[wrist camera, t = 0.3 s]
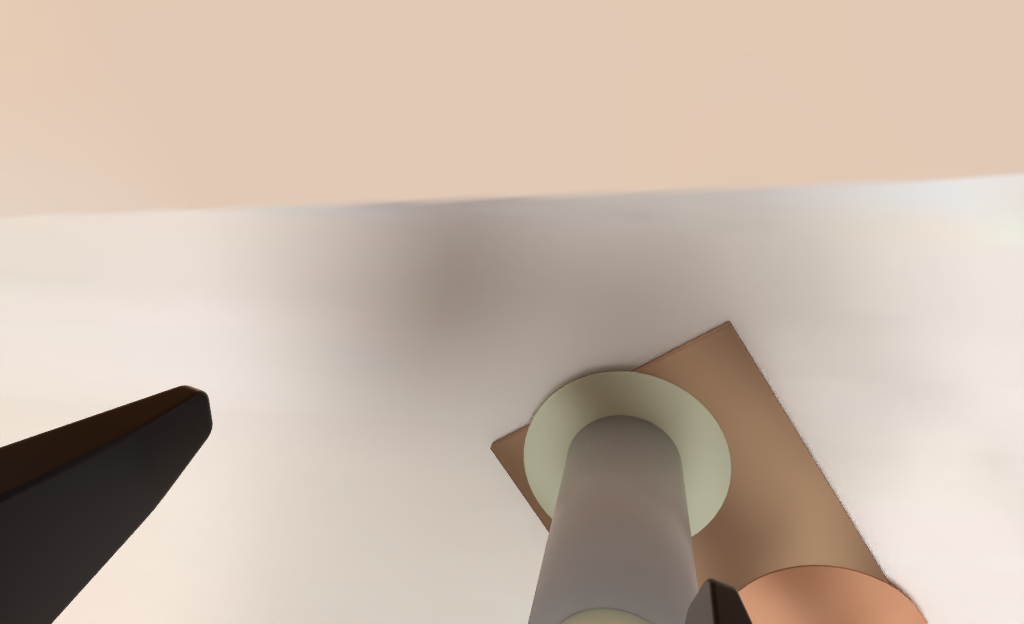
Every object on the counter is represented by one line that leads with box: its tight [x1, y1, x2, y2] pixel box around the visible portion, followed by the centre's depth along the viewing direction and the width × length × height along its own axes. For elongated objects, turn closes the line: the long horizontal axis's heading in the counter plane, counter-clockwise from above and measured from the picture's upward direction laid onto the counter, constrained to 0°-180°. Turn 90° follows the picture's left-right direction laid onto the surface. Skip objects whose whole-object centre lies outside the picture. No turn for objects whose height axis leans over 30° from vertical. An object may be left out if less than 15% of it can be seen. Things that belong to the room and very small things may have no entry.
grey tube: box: [528, 415, 698, 624], centre depth 19 cm, size 5×5×12 cm
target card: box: [490, 321, 927, 624], centre depth 26 cm, size 12×22×1 cm, turn 34°
